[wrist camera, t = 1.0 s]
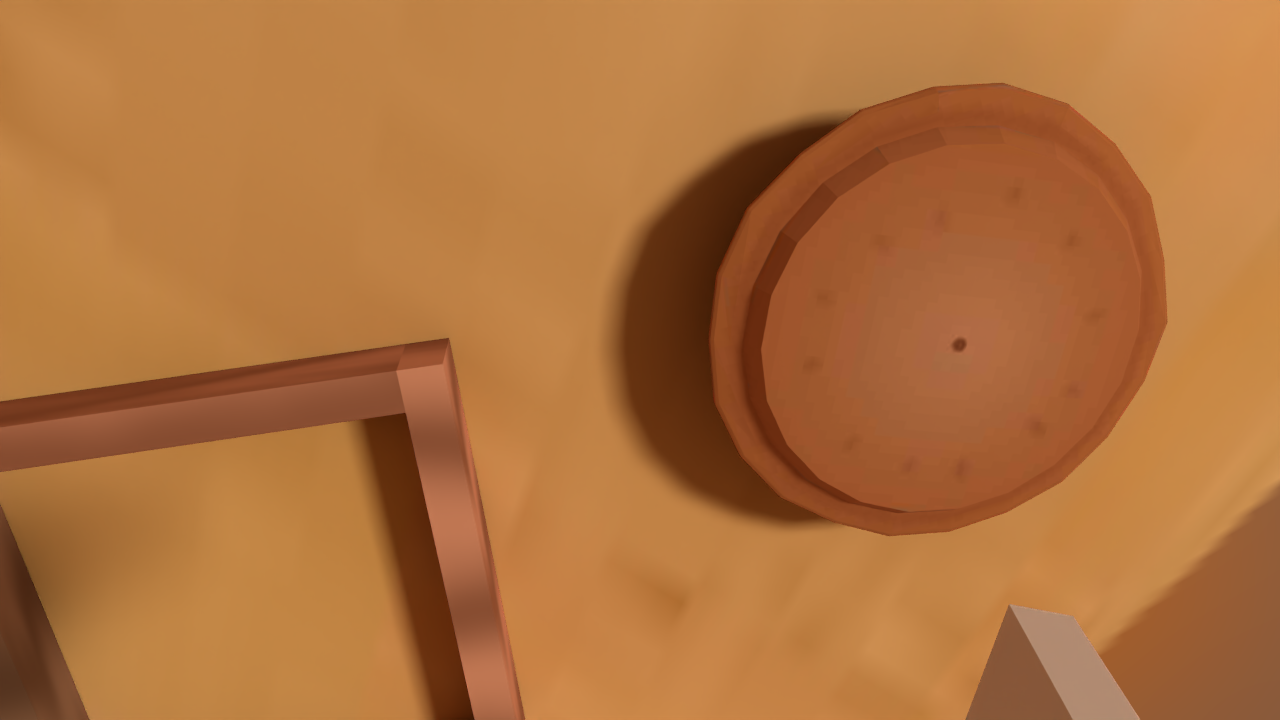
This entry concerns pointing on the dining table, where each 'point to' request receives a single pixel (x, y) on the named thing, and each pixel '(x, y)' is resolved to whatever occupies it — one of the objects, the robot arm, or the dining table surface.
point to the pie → (937, 309)
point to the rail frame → (249, 405)
